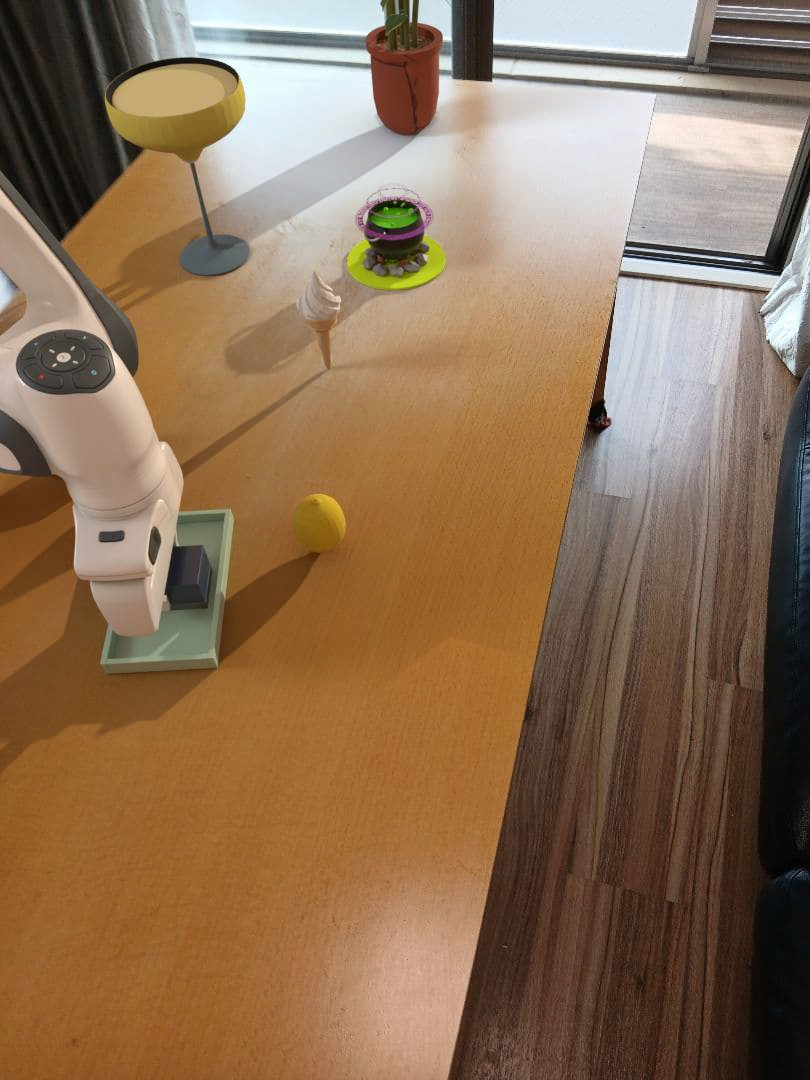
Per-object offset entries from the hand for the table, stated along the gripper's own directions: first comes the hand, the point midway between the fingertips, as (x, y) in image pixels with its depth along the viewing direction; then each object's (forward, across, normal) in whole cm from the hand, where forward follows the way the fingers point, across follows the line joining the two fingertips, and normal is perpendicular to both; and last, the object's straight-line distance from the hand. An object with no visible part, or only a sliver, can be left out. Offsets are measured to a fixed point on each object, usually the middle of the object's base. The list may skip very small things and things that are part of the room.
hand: (167, 580), depth 85 cm
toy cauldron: (+3, -60, +26) cm, 65 cm away
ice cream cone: (+3, -35, +16) cm, 39 cm away
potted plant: (+3, -100, +30) cm, 104 cm away
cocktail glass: (+3, -63, -2) cm, 63 cm away
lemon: (+3, -5, +16) cm, 17 cm away
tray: (+2, 0, 0) cm, 3 cm away
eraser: (+2, 0, 0) cm, 2 cm away
